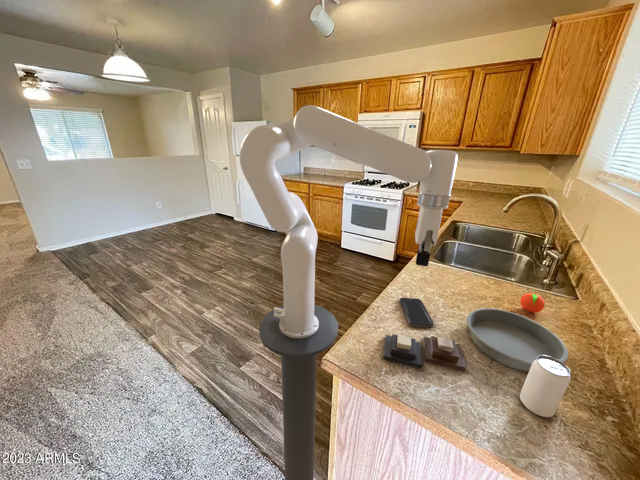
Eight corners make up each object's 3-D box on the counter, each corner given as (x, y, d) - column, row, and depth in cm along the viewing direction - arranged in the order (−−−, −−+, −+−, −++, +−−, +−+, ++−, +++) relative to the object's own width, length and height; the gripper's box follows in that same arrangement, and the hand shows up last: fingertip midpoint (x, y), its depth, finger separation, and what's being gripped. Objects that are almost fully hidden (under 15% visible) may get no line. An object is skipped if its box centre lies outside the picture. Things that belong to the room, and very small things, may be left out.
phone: (420, 298, 100) (434, 324, 86) (419, 301, 100) (433, 327, 86) (399, 297, 100) (409, 322, 86) (398, 300, 100) (409, 325, 86)
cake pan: (582, 390, 65) (589, 376, 64) (472, 363, 72) (475, 350, 71) (540, 328, 87) (544, 316, 86) (458, 312, 94) (461, 301, 93)
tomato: (541, 320, 91) (548, 303, 89) (517, 312, 95) (523, 295, 92) (541, 309, 97) (547, 293, 95) (518, 303, 101) (523, 286, 98)
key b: (437, 349, 73) (439, 344, 73) (436, 341, 76) (437, 336, 76) (452, 352, 72) (453, 347, 72) (450, 344, 75) (451, 339, 75)
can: (513, 391, 64) (528, 352, 60) (541, 394, 64) (558, 355, 60) (530, 416, 58) (548, 375, 54) (561, 420, 58) (581, 379, 54)
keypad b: (424, 361, 73) (426, 352, 71) (423, 339, 81) (424, 331, 80) (464, 370, 70) (467, 362, 69) (458, 347, 78) (460, 339, 77)
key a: (396, 347, 73) (397, 342, 73) (397, 339, 77) (397, 334, 76) (410, 351, 72) (411, 345, 72) (410, 342, 76) (410, 337, 75)
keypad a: (383, 359, 73) (384, 350, 72) (385, 337, 81) (386, 329, 80) (421, 368, 70) (423, 360, 69) (419, 345, 78) (421, 337, 77)
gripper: (416, 194, 76) (407, 252, 82) (418, 205, 62) (407, 274, 69) (445, 196, 74) (433, 256, 80) (453, 208, 60) (438, 278, 67)
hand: (421, 264), depth 75 cm, fingers closed
